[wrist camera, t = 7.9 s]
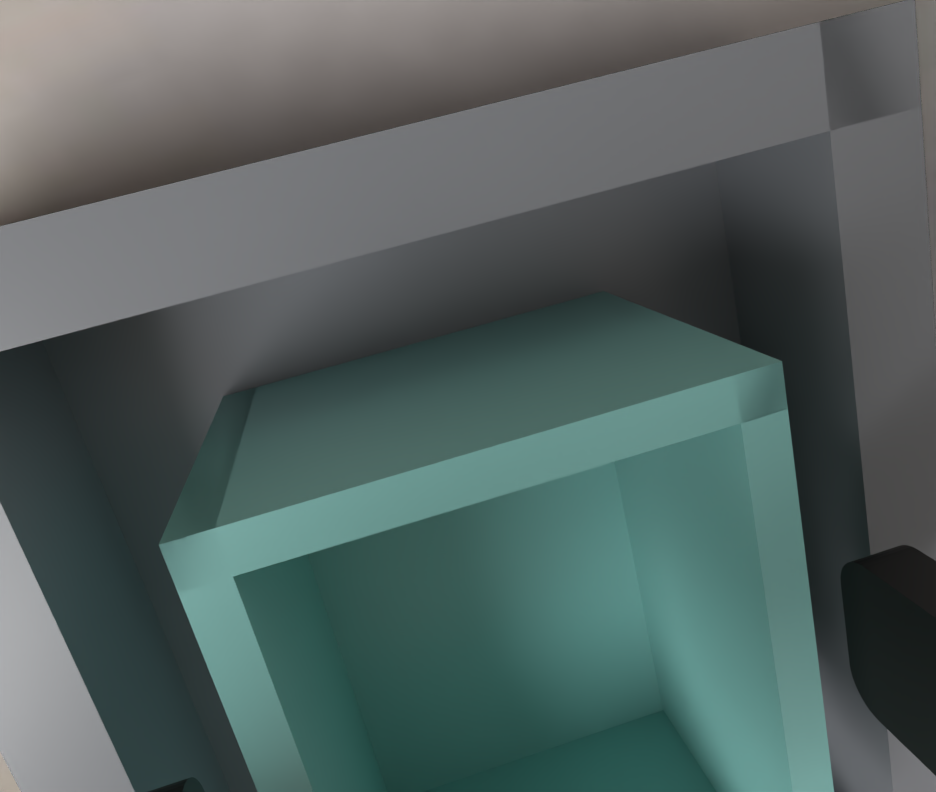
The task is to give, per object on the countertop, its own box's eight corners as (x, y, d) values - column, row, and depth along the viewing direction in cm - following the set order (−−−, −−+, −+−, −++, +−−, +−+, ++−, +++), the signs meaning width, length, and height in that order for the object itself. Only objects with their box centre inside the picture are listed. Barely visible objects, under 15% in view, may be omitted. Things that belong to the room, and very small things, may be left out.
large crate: (-74, 254, 11) (-242, 287, 8) (754, 46, 12) (914, -2, 9) (245, 965, 15) (225, 1185, 12) (838, 754, 17) (970, 898, 13)
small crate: (223, 396, 12) (158, 544, 7) (603, 291, 12) (781, 361, 8) (368, 812, 14) (395, 1133, 9) (681, 706, 15) (854, 956, 10)
